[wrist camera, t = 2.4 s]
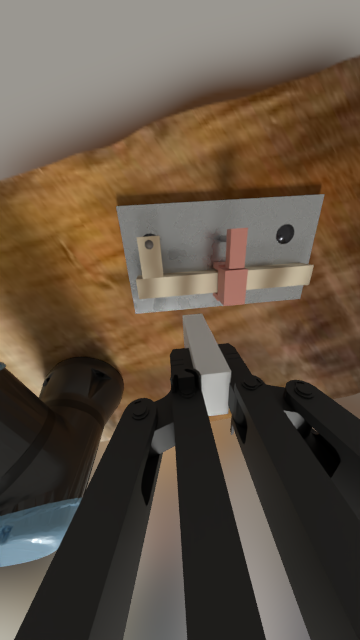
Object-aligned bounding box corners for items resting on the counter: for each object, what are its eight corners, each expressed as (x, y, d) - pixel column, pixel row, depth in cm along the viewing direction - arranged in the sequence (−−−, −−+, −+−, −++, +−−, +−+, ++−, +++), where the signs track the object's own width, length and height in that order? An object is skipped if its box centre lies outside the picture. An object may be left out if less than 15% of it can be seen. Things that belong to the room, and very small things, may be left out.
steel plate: (136, 311, 32) (135, 313, 31) (117, 207, 25) (115, 206, 24) (296, 296, 34) (300, 298, 33) (319, 195, 27) (325, 194, 26)
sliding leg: (212, 294, 31) (223, 308, 25) (213, 230, 27) (227, 229, 21) (229, 293, 31) (244, 306, 25) (233, 229, 27) (252, 227, 21)
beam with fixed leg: (141, 293, 30) (139, 299, 27) (132, 237, 26) (128, 237, 24) (296, 280, 31) (308, 284, 29) (308, 225, 28) (323, 224, 25)
